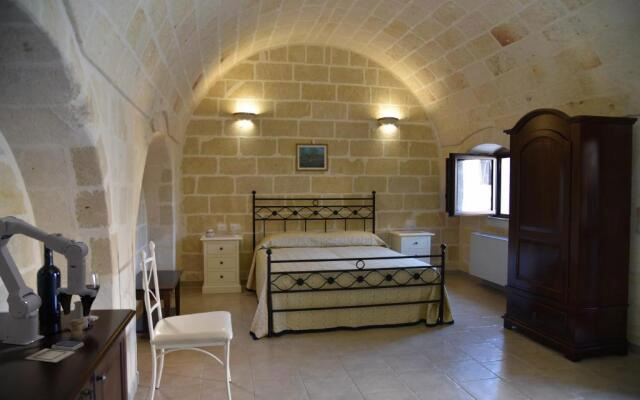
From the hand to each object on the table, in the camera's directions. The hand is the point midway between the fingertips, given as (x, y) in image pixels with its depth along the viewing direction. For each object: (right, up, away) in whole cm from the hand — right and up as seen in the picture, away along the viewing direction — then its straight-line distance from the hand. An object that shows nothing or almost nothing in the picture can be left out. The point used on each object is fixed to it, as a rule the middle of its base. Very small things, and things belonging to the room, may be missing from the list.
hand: (76, 315), depth 154 cm
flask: (-6, -8, +13) cm, 16 cm away
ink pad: (+1, -9, -6) cm, 11 cm away
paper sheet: (-1, -10, -14) cm, 17 cm away
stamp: (0, -9, 0) cm, 9 cm away
